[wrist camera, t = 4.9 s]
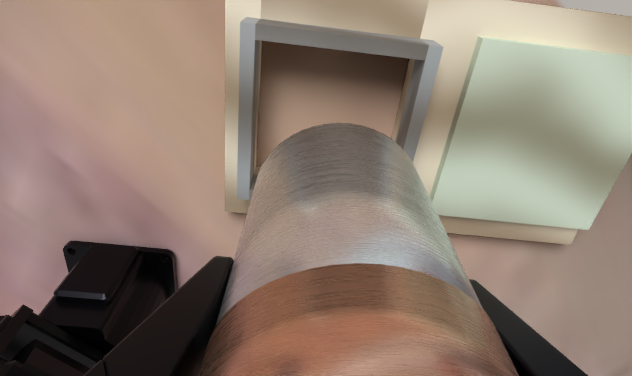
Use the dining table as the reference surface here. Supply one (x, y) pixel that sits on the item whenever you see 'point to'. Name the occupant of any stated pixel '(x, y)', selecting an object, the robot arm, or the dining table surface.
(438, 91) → the pocket board
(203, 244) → the dining table surface
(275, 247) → the steel tin
